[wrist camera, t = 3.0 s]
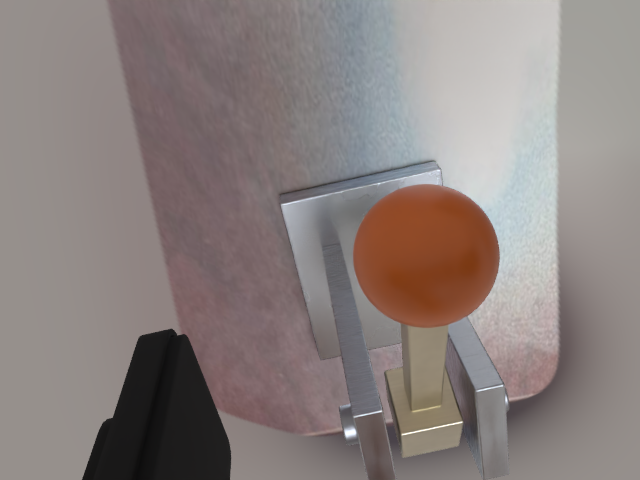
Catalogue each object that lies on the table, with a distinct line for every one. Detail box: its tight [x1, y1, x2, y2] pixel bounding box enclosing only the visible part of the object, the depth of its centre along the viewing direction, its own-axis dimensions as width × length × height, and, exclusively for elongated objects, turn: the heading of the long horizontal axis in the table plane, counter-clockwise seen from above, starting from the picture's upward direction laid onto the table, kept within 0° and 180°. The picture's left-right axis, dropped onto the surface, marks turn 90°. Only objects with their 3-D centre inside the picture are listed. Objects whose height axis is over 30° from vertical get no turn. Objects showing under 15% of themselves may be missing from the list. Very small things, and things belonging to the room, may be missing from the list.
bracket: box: [280, 161, 509, 480], centre depth 24 cm, size 10×8×13 cm
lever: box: [353, 184, 500, 457], centre depth 16 cm, size 13×3×3 cm, turn 13°
